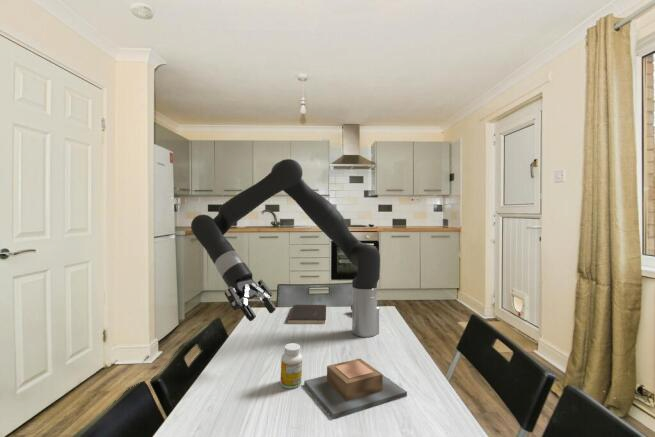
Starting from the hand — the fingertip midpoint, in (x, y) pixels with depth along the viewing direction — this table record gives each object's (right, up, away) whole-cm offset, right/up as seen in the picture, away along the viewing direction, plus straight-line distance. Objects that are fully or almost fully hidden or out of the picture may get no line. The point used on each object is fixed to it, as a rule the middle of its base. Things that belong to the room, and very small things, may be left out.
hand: (263, 315), depth 89 cm
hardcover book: (+9, -17, +54) cm, 57 cm away
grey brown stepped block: (+24, -16, -9) cm, 30 cm away
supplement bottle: (+8, -16, -6) cm, 19 cm away
